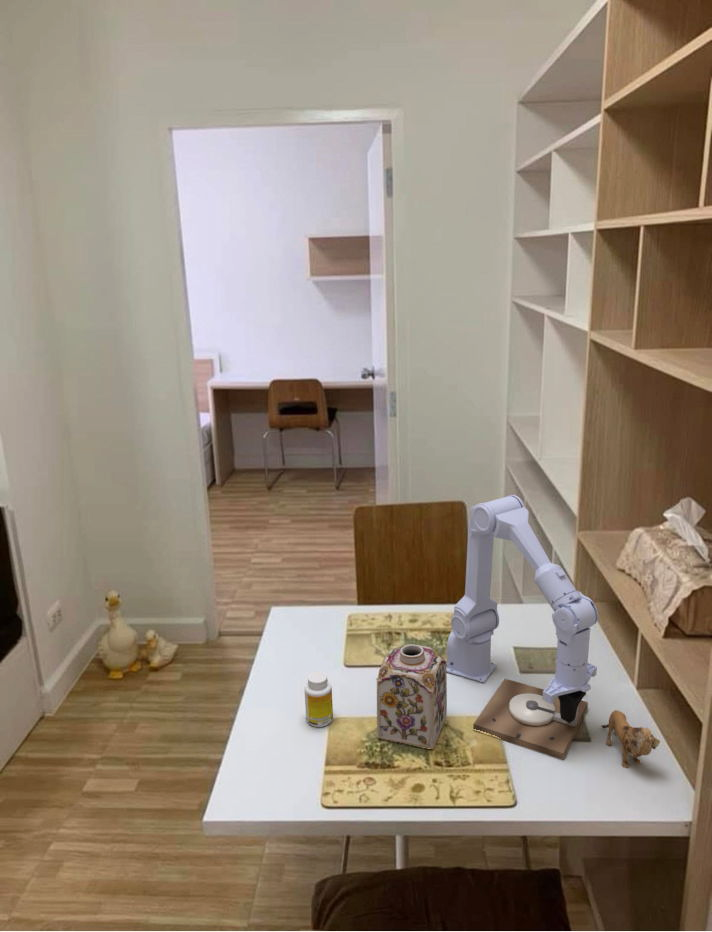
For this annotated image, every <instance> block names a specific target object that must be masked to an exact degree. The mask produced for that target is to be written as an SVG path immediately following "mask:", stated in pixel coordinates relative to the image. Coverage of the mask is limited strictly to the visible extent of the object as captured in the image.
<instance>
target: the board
mask: <svg viewBox="0 0 712 932" xmlns="http://www.w3.org/2000/svg"><path fill="white" fill-rule="evenodd" d="M544 690H545V689H544V688H540V687H537V686H536V687H535V686H533V685H529V684H526V683H522V682H519V681H515V680H511V679H509V678H504V679H503V681H502V682H501V683H500V684H499V685H498V687H497V688H496V690H495V692H494V693H493V695H492V696H491V698H490V699H489V701H488V702H487V704H486V705H485V706H484V708H483V710H482V711H481V712H480V714H479V715H478V717H477V718H476V720H475V721H474V722H473V727H472V729H476V730H480V731H483V732H486V733H489V734H491V735H495V736H497V737H499V738H501V739H502V740H501V739H500V740H501V741H504V742H507V743H510V744H513V745H516V746H520V747H523V748H525V749H529V750H532V751H535V752H537V753H541V754H543V755H547V756H549V757H553V758H555V759H558V760H562V761H564V759H565V757H566V754H567V753H568V750H569V748H570V746H571V744H572V742H573V740H574V738H575V736H574V735H576V734H575V733H577V732H578V729H579V727H580V726H581V723H582V721H583V720H584V716H585V715H586V712H587V710H588V706H589V702H588V701H584V700H583V699H582V700H581V701H580V703H579V705H578V713H577V725H576V726H569V725H567V724H565V723H562V722H558V721H555V720H552V721H551V722H550V723H548V724H545V725H540V726H532V725H527V724H523V723H521V722H519V721H517V720H516V719H514V718H513V717H512V716H511V714H510V711H509V703H510V700H511V699H512V698H513V697H515V696H517V695H519V694H525V693H531V694H537V695H541V696H543V691H544ZM553 705H554V707H555V712H556V713H559V714H560V701H559V698H558V697H556V698H555V699H554V703H553ZM576 731H577V732H576Z"/></svg>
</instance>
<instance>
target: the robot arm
mask: <svg viewBox="0 0 712 932" xmlns="http://www.w3.org/2000/svg"><path fill="white" fill-rule="evenodd" d="M469 513H470V514H469V515H470V516H469V521H468V526H467V527H468V528H467V529H468V530H467V546H466V547H467V550H466V567H465V568H466V569H465V583H464V585H465V588H464V595H463V596H462V598H460V600H459V601H457V603H456V604H454V610H453V614H452V616H451V618H450V627H451V631H450V632H449V635H448V638H447V642H446V662H447V663H446V666H447V667H446V670H447V673H449V674H452V675H455V676H458V677H463V678H465V679H466V678H467V679H469V680H473V681H476V682H479V683H486V681H487V679H488V678H489V677H490V676H491V674H492V672H493V671H494V670H495V669H496V668H497V663H495V662H491V655H492V654H491V651H492V648H491V647H492V642H491V641H492V636H494V634H495V633H494V631H495V630H496V629H497V628H499V624H500V615H499V611H498V602H496V600H495V599H494V598H493V597H491V588H492V587H491V583H492V568H493V556H494V555H493V553H494V552H493V551H494V540H495V539H494V538H497V539H502V540H507V541H511V542H512V543H513V544H514V546H515V547H516V548H517V550H518V551H519V552H520V553H521V555H522V557H524V559H525V560H526V562H527V563H528V564H529V565H530V566H531V568H532V569H533V570H534V572H535V575H534V583H535V584H536V586H537V587H538V589H539V590H540V592H541V594H542V595H543V596H544V598H545V600H546V601H547V603H548V604H549V606H550V607H551V609H552V611H553V613H551V619H552V623H553V625H554V627H555V635H556V638H557V644H556V645H557V646H556V660H555V674H553V677H552V679H551V680H550V682H549V684H548V685H547V687H546V688H545V689H544V691H543V697H542V700H544V701H546V702H548V703H549V704H552V703H554V699H555V698H556V697H558V698H559V701H560V716H561V719H563V720H565V721H566V722H568V723H571V722H572V721H574V719H575V717H576V712H577V707H578V705H579V703H580V701H581V700H582V701H583V698H585V696H586V694H587V692H589V691H590V690H591V686H592V685H590V683H589V682H590V680H591V678H592V677H593V678H595V676H597V670H598V667H597V666H596V665H594V664H592V663H590V662H589V661H588V660H589V650H590V639H591V638H590V637H591V627H593V626H594V625H596V624H597V622H598V621H599V612H598V609H597V607H596V605H595V603H594V601H593V600H592V598H590V597H588V596H586V595H584V594H583V593H582V592H581V591H578V590H577V589H576V587H575V586H574V584H573V583H572V582H571V580H570V578H569V577H568V575H567V574H566V572H565V571H564V569H563V568H562V567H561V565H559V564H556V563H552V562H551V561H550V559H549V557H548V554H546V552H545V550H544V548H543V547H542V545H541V543H540V541H539V539H538V537H537V535H536V534H535V532H534V530H533V529H532V527H531V525H530V523H529V518H530V517H529V516H530V513H529V509H527V508H526V507H525V504H524V501H523V500H522V499H521V498H520V497H519V496H517V495H515V494H510V495H507V496H504V497H501V498H496V499H493V500H489V501H486V502H480V503H477V504H476V505H473V506H471V507H470V512H469Z"/></svg>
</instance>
